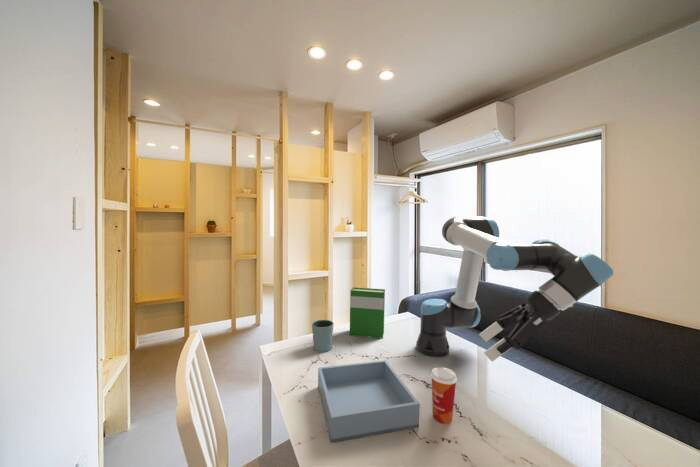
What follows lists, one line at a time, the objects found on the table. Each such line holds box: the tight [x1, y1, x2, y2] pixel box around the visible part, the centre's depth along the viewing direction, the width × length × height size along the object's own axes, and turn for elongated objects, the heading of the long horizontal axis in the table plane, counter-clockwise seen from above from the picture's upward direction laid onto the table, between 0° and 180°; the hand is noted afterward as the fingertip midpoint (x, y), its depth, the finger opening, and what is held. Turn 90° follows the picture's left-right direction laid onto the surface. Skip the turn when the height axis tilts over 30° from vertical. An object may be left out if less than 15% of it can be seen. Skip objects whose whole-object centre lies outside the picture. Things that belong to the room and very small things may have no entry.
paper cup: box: [430, 366, 458, 425], centre depth 83 cm, size 8×8×14 cm
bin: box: [317, 359, 421, 444], centre depth 88 cm, size 26×26×7 cm
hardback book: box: [349, 287, 386, 339], centre depth 146 cm, size 18×7×24 cm, turn 79°
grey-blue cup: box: [311, 319, 334, 353], centre depth 128 cm, size 10×10×12 cm
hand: (484, 346), depth 78 cm, fingers open, 13 cm apart
